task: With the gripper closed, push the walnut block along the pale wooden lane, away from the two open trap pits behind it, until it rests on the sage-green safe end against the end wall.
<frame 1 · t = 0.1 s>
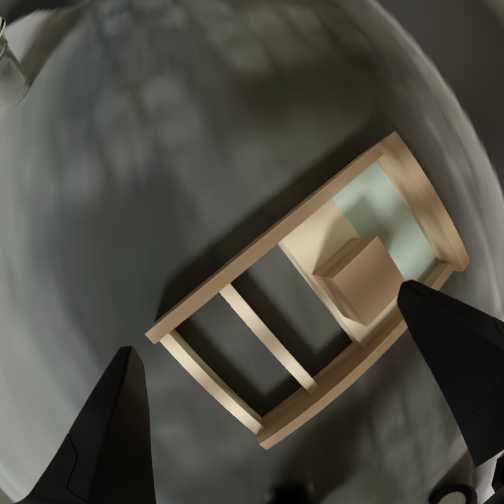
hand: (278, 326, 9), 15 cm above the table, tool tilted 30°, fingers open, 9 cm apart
walnut block: (347, 277, 23), point 2 cm above the table, touching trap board
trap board: (321, 291, 24), on the table
cup with straw: (16, 91, 20), on the table
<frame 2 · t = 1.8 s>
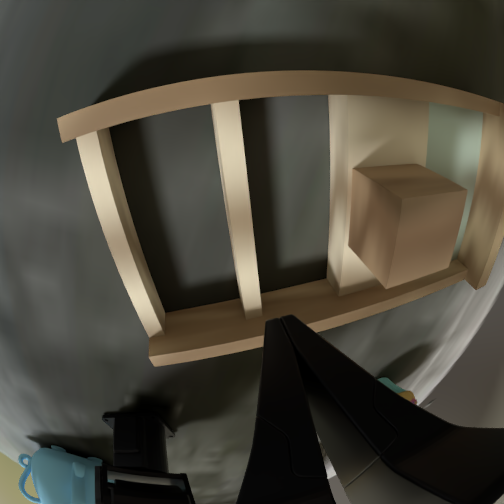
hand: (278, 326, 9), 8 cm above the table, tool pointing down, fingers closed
walnut block: (384, 203, 15), point 2 cm above the table, touching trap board
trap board: (337, 195, 16), on the table
decorative pot: (74, 457, 31), on the table
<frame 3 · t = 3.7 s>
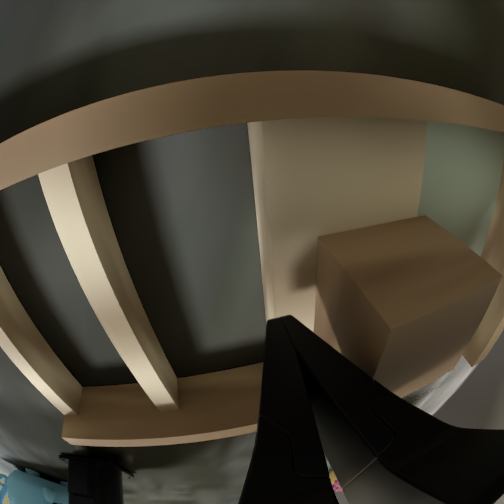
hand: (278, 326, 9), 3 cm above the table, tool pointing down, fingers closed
walnut block: (370, 278, 10), point 2 cm above the table, touching gripper, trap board
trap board: (273, 267, 11), on the table
decorative pot: (49, 479, 26), on the table
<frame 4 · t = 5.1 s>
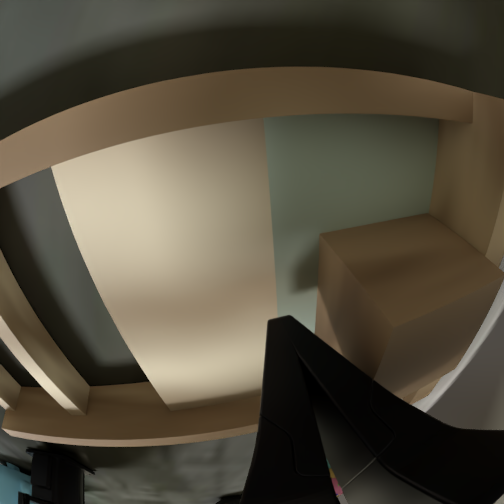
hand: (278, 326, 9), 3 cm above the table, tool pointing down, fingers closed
portable speaker: (234, 501, 42), on the table
walnut block: (372, 276, 10), point 2 cm above the table, touching gripper, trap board
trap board: (137, 292, 11), on the table
decorative pot: (29, 474, 25), on the table
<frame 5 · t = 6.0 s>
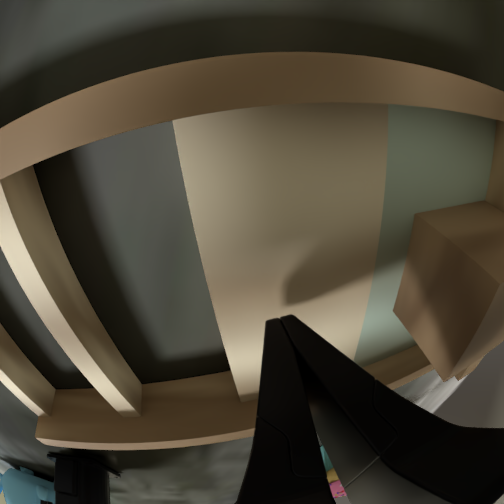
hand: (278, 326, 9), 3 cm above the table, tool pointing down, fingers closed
walnut block: (443, 255, 10), point 2 cm above the table, touching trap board
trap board: (223, 276, 11), on the table
decorative pot: (44, 477, 26), on the table
cupcake: (335, 441, 26), on the table
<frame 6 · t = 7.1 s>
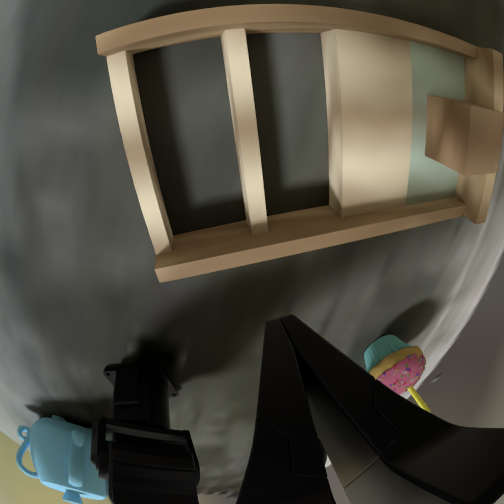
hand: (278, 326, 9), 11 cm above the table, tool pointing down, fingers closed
walnut block: (446, 126, 16), point 2 cm above the table, touching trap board
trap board: (334, 121, 17), on the table
decorative pot: (75, 429, 33), on the table
cupcake: (378, 346, 33), on the table
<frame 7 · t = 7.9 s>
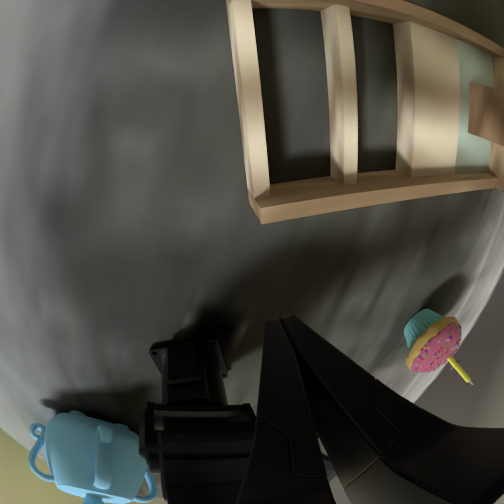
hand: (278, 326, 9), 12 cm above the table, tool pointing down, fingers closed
walnut block: (481, 110, 16), point 2 cm above the table, touching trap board
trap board: (402, 96, 17), on the table
decorative pot: (95, 427, 32), on the table
cupcake: (415, 321, 33), on the table
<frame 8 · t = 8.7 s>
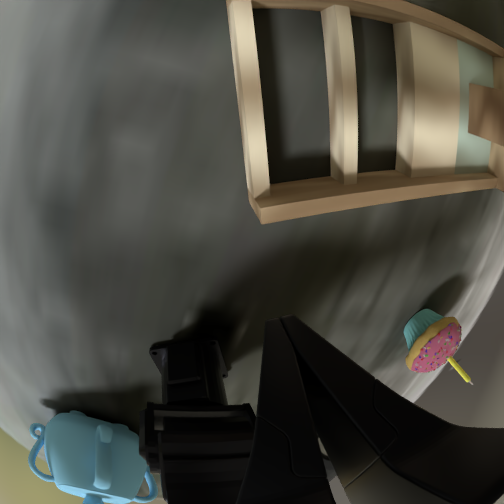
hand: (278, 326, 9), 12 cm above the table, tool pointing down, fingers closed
walnut block: (481, 110, 16), point 2 cm above the table, touching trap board
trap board: (402, 96, 17), on the table
decorative pot: (95, 427, 32), on the table
cupcake: (415, 321, 33), on the table
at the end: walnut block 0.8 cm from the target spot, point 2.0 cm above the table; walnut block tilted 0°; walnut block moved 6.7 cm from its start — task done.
